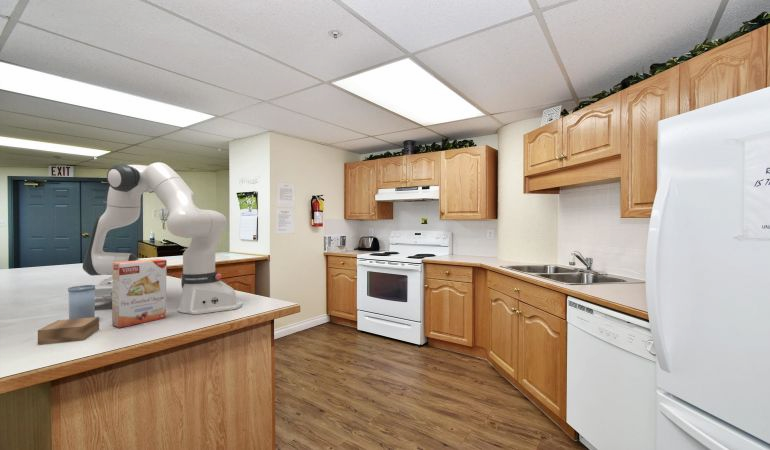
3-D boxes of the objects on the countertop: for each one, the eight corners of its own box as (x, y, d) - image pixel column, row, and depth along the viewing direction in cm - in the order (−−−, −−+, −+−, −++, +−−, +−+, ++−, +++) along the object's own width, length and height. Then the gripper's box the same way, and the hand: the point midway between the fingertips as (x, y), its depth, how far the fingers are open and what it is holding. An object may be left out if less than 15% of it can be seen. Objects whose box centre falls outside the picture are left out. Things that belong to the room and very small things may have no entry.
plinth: (99, 329, 103) (99, 316, 103) (83, 340, 94) (83, 326, 94) (58, 333, 100) (57, 320, 100) (37, 344, 90) (37, 330, 90)
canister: (99, 318, 115) (98, 284, 115) (90, 324, 108) (89, 288, 108) (74, 320, 112) (74, 285, 112) (63, 326, 106) (63, 289, 106)
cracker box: (119, 328, 104) (118, 263, 104) (111, 325, 107) (111, 262, 107) (167, 318, 116) (167, 259, 116) (159, 315, 119) (158, 258, 119)
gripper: (80, 281, 130) (60, 288, 117) (142, 278, 137) (130, 284, 124) (80, 297, 130) (60, 306, 117) (142, 293, 137) (130, 301, 124)
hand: (97, 294), depth 121 cm, fingers open, 8 cm apart
